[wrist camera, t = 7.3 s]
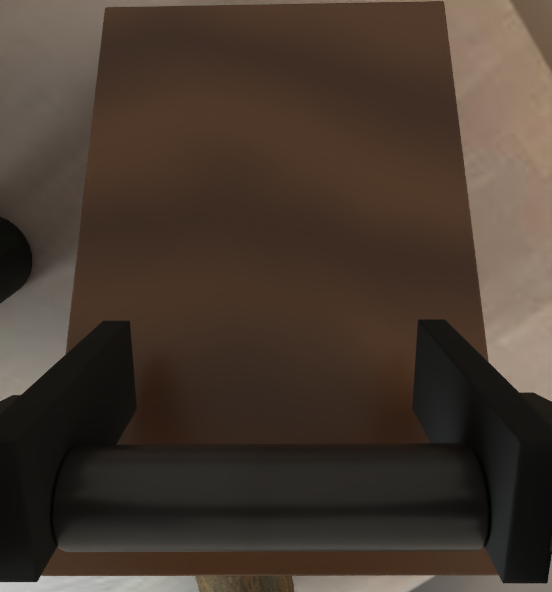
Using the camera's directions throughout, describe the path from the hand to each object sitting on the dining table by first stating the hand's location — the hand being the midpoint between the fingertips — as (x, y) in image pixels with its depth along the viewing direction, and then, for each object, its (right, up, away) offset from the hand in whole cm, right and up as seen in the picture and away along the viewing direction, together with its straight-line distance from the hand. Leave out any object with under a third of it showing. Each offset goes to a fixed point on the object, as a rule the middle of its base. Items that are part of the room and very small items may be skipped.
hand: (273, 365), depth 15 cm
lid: (0, +4, +4) cm, 5 cm away
